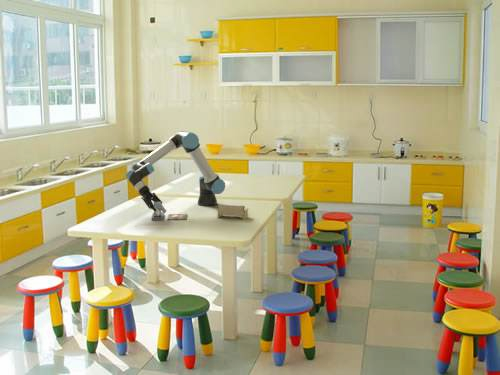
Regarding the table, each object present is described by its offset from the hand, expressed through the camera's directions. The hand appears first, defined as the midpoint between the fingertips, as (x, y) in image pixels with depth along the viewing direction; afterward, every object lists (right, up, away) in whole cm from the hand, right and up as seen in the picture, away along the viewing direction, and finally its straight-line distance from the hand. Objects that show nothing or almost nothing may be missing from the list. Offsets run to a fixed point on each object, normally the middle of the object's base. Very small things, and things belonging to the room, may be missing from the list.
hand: (162, 213), depth 449 cm
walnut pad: (+10, -4, +7) cm, 13 cm away
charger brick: (-4, -4, +3) cm, 6 cm away
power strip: (-4, -4, +7) cm, 9 cm away
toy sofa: (+49, -4, +7) cm, 50 cm away
